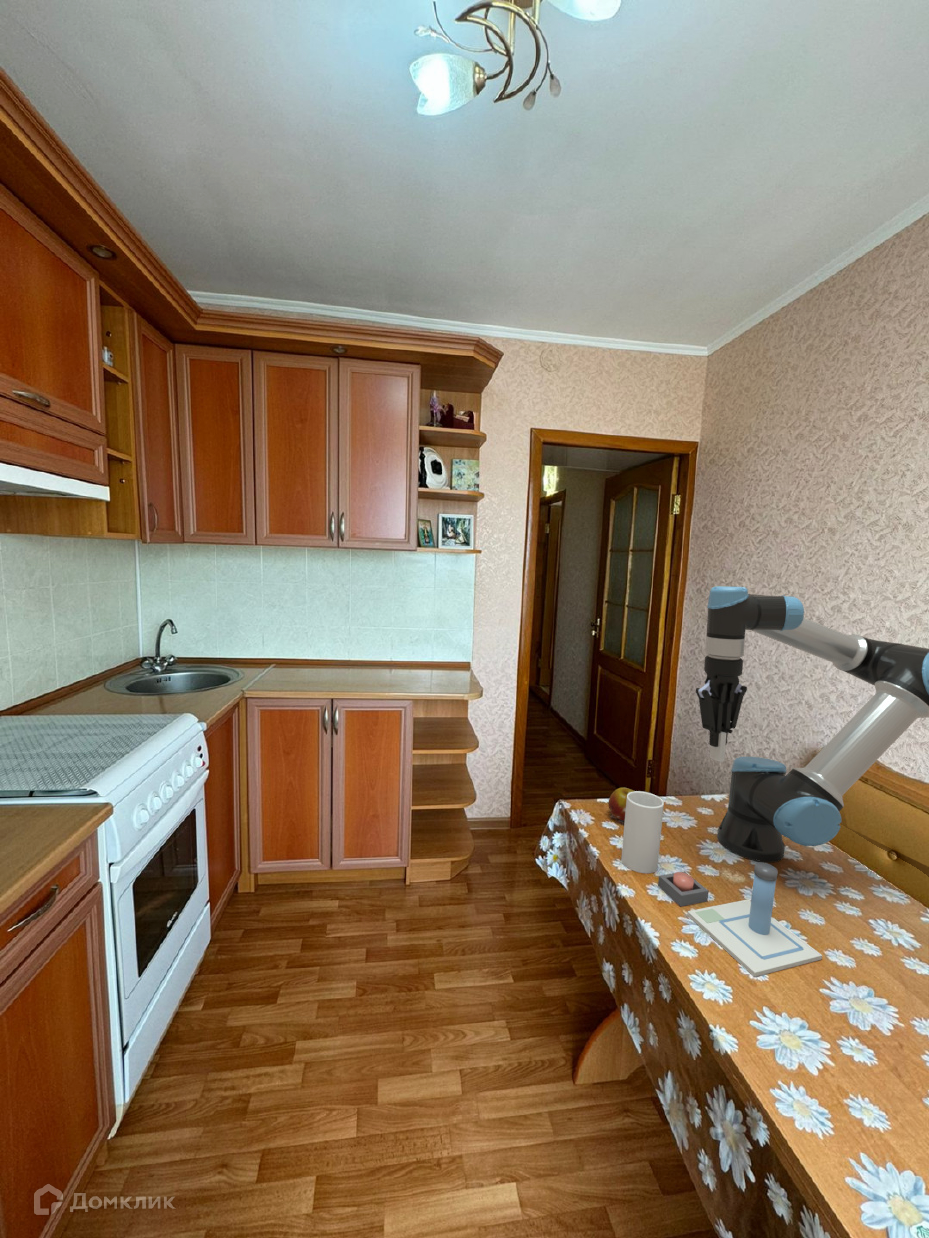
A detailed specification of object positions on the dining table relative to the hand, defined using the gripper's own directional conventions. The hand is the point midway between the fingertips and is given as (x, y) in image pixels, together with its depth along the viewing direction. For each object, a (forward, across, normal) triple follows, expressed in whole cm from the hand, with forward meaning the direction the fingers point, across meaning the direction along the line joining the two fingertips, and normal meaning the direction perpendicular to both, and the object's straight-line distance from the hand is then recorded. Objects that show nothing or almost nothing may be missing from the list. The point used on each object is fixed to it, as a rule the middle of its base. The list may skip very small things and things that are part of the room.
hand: (717, 759), depth 113 cm
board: (+28, +8, +18) cm, 34 cm away
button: (+26, +11, +3) cm, 29 cm away
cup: (+27, +13, -9) cm, 31 cm away
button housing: (+27, +11, +3) cm, 30 cm away
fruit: (+28, +2, -28) cm, 40 cm away
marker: (+27, +6, +17) cm, 32 cm away
